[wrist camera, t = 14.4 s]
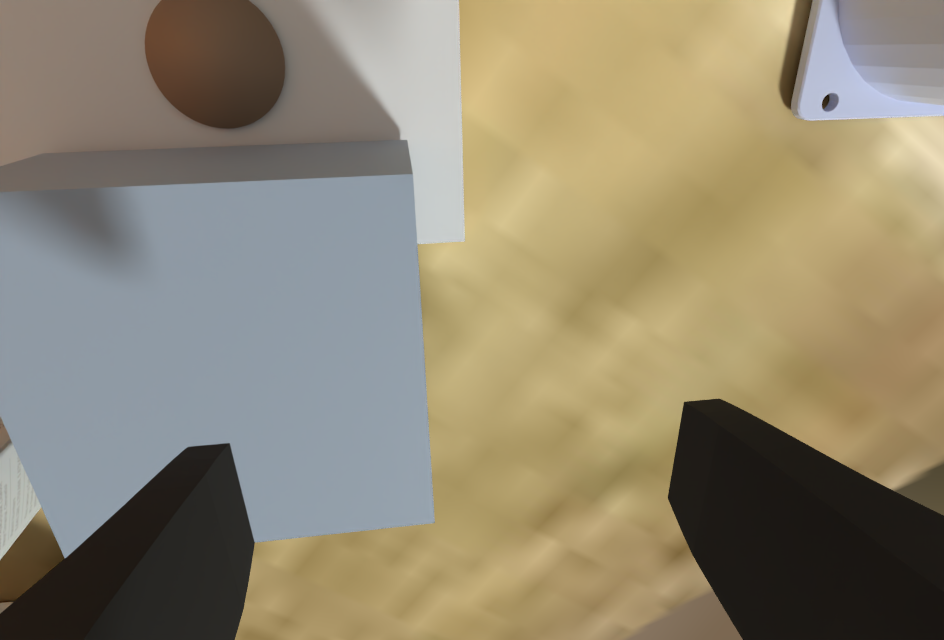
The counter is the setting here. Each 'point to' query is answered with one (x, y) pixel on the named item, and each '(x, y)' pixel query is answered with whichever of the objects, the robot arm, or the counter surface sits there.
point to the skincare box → (13, 494)
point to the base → (240, 81)
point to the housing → (217, 330)
